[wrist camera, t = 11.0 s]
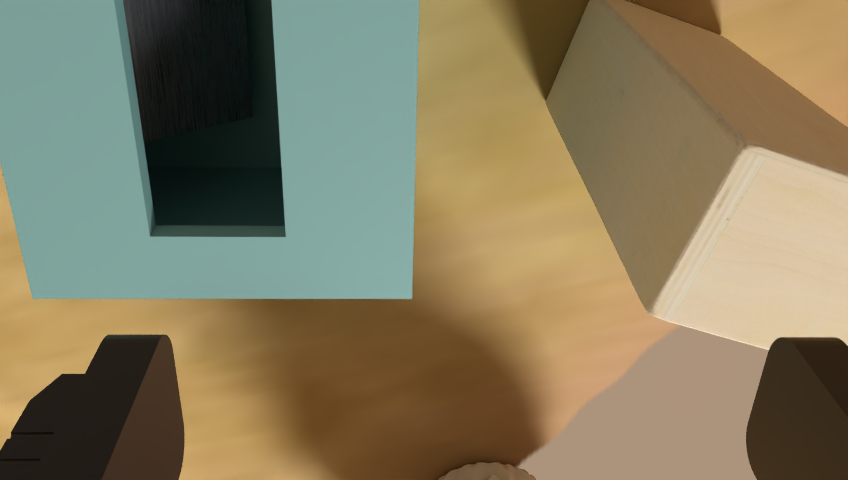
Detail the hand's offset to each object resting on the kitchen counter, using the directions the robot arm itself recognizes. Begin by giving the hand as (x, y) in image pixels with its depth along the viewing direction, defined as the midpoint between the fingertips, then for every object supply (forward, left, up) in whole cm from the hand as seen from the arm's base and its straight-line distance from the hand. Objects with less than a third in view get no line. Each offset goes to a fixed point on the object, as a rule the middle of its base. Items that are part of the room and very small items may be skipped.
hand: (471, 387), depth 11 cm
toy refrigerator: (+6, +12, -34) cm, 37 cm away
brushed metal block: (+4, -9, -32) cm, 33 cm away
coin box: (+4, -8, -34) cm, 35 cm away
